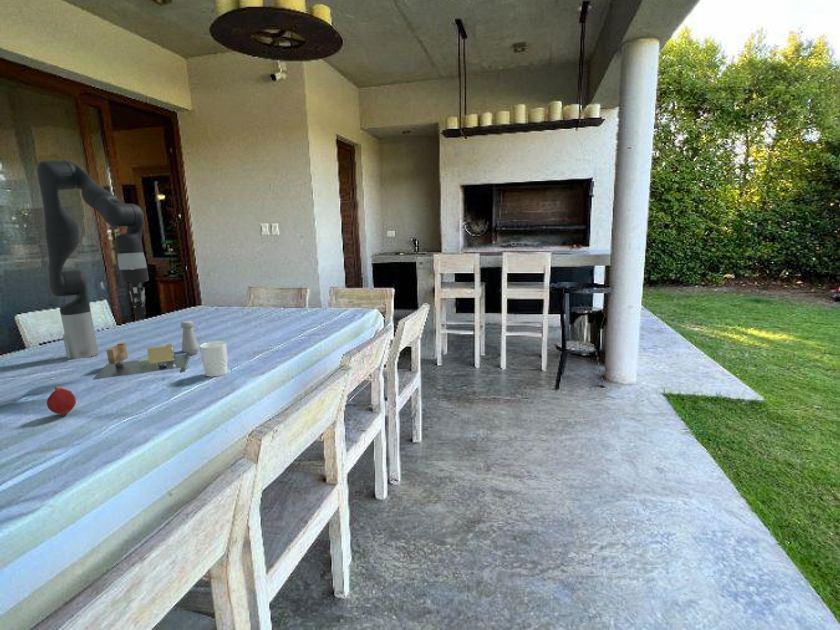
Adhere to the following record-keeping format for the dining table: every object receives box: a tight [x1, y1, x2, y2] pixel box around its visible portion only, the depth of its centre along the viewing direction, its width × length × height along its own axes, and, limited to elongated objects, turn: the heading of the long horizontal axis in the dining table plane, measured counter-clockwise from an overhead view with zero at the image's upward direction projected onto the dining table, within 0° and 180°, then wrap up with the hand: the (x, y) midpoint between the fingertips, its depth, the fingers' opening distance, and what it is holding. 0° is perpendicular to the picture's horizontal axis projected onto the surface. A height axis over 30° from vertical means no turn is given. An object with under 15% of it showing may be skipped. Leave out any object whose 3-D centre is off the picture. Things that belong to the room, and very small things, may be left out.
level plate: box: [91, 346, 191, 380], centre depth 152 cm, size 26×18×6 cm
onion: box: [46, 386, 77, 417], centre depth 115 cm, size 6×6×8 cm
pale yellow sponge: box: [146, 343, 174, 367], centre depth 149 cm, size 7×2×7 cm, turn 112°
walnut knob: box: [106, 342, 129, 367], centre depth 151 cm, size 7×2×7 cm, turn 2°
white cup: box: [199, 340, 229, 378], centre depth 145 cm, size 8×8×10 cm
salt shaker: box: [180, 320, 200, 356], centre depth 169 cm, size 6×6×13 cm
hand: (141, 317), depth 144 cm, fingers open, 8 cm apart
